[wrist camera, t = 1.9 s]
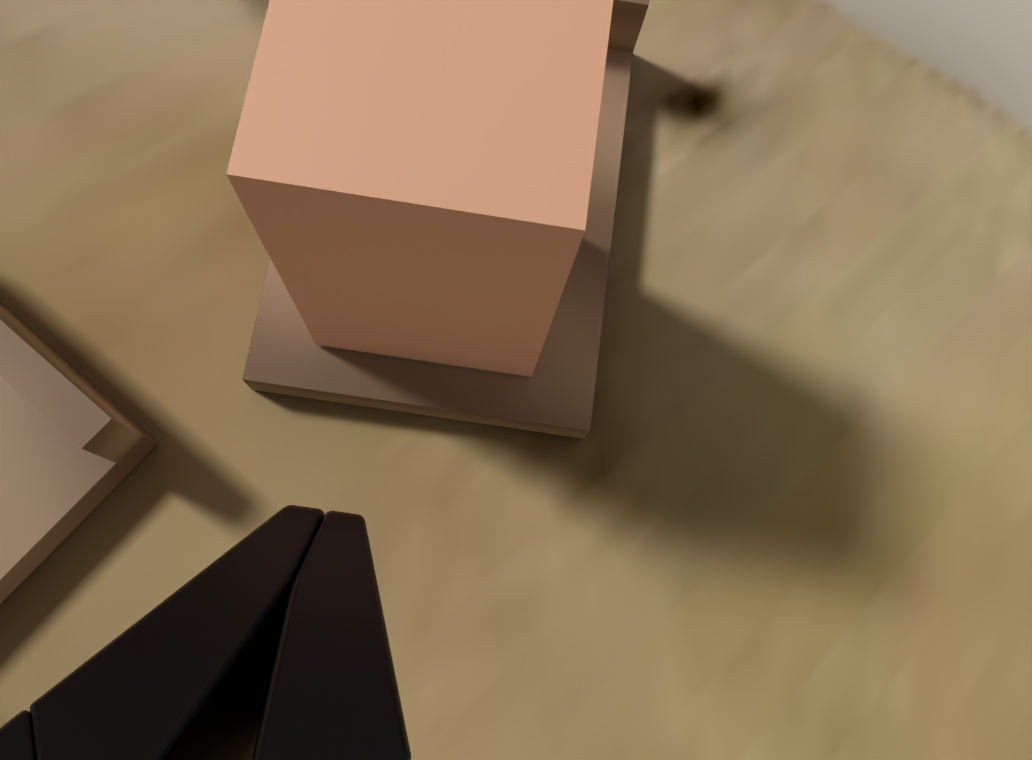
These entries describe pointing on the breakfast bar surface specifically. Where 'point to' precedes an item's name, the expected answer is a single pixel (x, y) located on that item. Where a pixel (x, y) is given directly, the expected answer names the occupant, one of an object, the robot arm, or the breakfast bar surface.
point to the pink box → (424, 168)
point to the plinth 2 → (461, 390)
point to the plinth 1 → (52, 450)
